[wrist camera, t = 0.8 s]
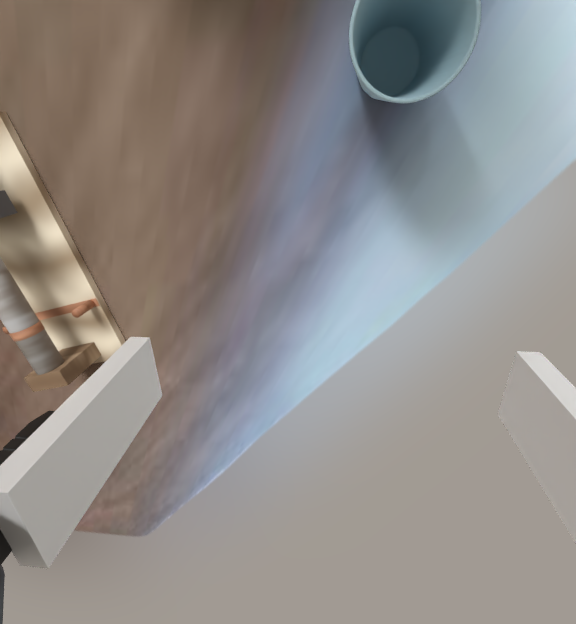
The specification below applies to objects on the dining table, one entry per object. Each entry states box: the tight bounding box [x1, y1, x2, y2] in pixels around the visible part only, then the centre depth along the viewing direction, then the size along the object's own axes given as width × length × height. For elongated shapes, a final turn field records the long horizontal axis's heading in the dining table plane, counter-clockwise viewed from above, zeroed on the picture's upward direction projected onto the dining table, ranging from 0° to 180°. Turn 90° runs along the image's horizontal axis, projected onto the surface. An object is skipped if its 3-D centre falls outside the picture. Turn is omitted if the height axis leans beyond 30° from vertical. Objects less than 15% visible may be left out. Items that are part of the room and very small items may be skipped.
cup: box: [349, 0, 481, 103], centre depth 26 cm, size 8×8×10 cm
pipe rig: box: [0, 112, 126, 392], centre depth 39 cm, size 29×12×8 cm, turn 16°
